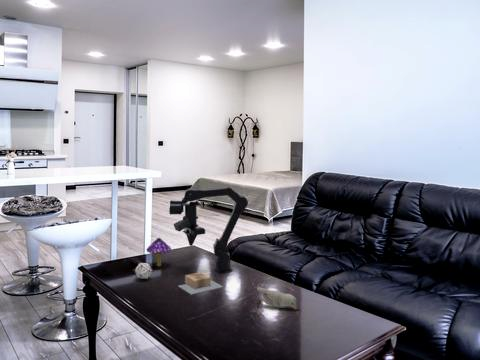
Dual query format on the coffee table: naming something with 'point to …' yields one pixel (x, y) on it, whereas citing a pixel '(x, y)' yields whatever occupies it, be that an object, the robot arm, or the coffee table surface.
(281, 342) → the coffee table surface
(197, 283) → the brown wooden block
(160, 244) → the decorative mushroom
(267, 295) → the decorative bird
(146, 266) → the game die
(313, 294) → the coffee table surface
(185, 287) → the rubber mat
